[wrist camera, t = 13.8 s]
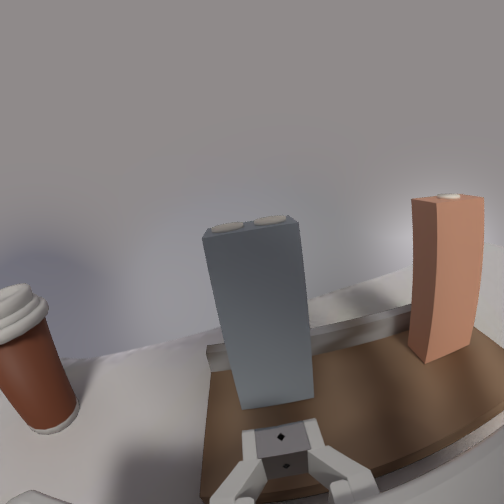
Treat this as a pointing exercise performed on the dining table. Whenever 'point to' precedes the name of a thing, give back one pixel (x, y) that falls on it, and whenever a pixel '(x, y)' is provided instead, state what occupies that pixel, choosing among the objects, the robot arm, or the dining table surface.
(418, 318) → the tile one
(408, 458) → the board
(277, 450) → the robot arm
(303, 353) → the tile two
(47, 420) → the coffee cup
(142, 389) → the dining table surface
